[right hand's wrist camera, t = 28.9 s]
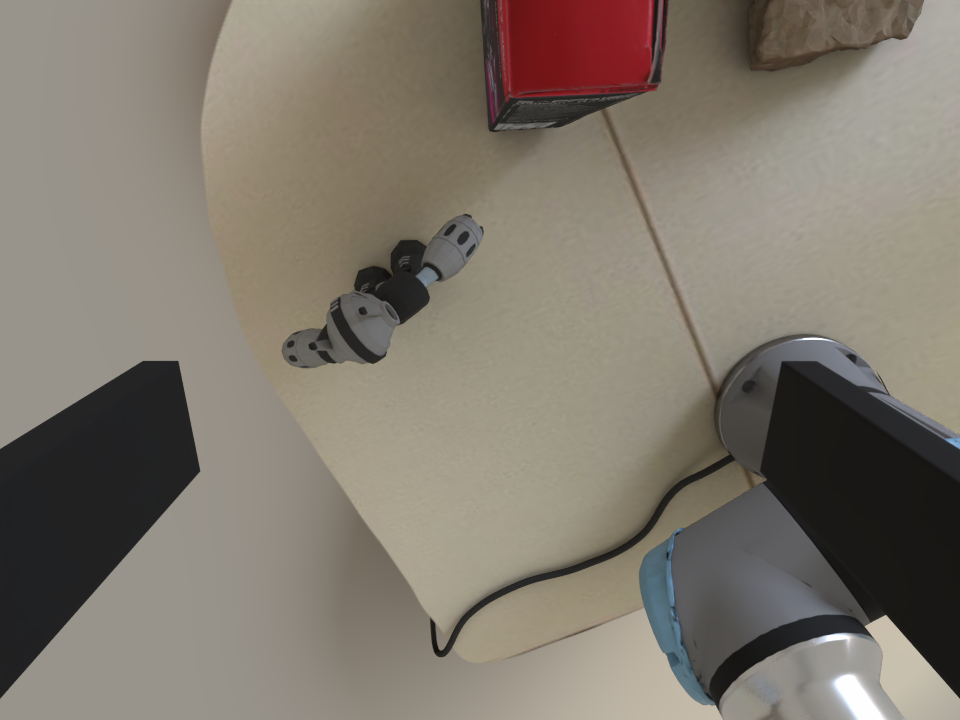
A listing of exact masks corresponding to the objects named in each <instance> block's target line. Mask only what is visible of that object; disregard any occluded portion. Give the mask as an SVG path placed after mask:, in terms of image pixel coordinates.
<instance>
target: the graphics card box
mask: <svg viewBox="0 0 960 720" xmlns="http://www.w3.org/2000/svg"><path fill="white" fill-rule="evenodd" d="M668 1H669V0H481V18H482V33H483V48H484V66H485V84H486V98H487V111H488V129H489V131H492V132H497V131H505V130H523V129H536V128H552V127H554V128H555V127H561V126H564V125H566V124H569V123H572V122H574V121H576V120H578V119H580V118H582V117H584V116H586V115H588V114H591V113H593V112H596V111H599V110H601V109H604V108H605V107H609V106H611V105H614V104H616V103H619V102H621V101H624V100H627V99H629V98H632V97H634V96H636V95H639V94H642V93H645V92H648V91H654V90H657V87H658V84H659V83H661V80H662V66H663V58H664V51H665V44H666V30H667V16H668Z"/></svg>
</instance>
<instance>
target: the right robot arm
mask: <svg viewBox="0 0 960 720" xmlns="http://www.w3.org/2000/svg"><path fill="white" fill-rule="evenodd" d="M876 372H877V371H876ZM877 374H878V373H877ZM878 376H879V374H878ZM879 377H880V376H879ZM880 379H881V377H880ZM881 381H882V379H881ZM882 383H883V381H882ZM883 385H884V383H883ZM883 385H882V384H881V382H880V381H879V379H878V378H877V376H876V375H875V373H874V372H873V370H872V369H871V367H870V366H869V365H868V363H867V362H866V361H865V360H864V359H863V358H862V357H860V356H859V355H858V354H857V353H856V352H855V351H853V350H852V349H850V348H849V347H847V346H845V345H843V344H841V343H839V342H837V341H835V340H833V339H830V338H827V337H823V336H818V335H809V334H802V335H792V336H787V337H782V338H779V339H776V340H773V341H771V342H768V343H766V344H764V345H762V346H760V347H758V348H757V349H755V350H754V351H752V352H751V353H749V354H748V355H747V356H745V357H744V358H743V359H742V360H741V361H740V362H739V363H738V364H737V365H736V366H735V367H734V368H733V369H732V371H731V372H730V373H729V375H728V376H727V378H726V379H725V381H724V383H723V384H722V386H721V389H720V391H719V394H718V397H717V400H716V405H715V426H716V431H717V434H718V436H719V439H720V441H721V443H722V444H723V446H724V447H725V448H726V450H727V451H728V452H729V453H730V455H728V456H727V457H725V458H723V459H721V460H720V461H718V462H716V463H714V464H713V465H711V466H709V467H707V468H705V469H704V470H702V471H700V472H697V473H695V474H693V475H691V476H689V477H687V478H685V479H683V480H681V481H680V482H679V483H677V484H676V485H675V486H674V487H673V488H672V489H671V490H670V491H669V492H668V493H667V494H666V496H665V497H664V498H663V500H662V501H661V503H660V504H659V506H658V508H657V509H656V511H655V513H654V515H653V516H652V518H651V519H650V521H649V522H648V524H647V525H646V526H645V528H644V529H643V530H642V531H641V532H640V533H638V534H637V535H636V536H635V537H634V538H632V539H631V540H629V541H628V542H627V543H625V544H623V545H622V546H620V547H618V548H616V549H614V550H612V551H610V552H608V553H605V554H603V555H601V556H598V557H595V558H593V559H590V560H587V561H585V562H582V563H580V564H577V565H574V566H571V567H568V568H565V569H561V570H557V571H553V572H548V573H544V574H540V575H536V576H532V577H529V578H526V579H523V580H521V581H518V582H516V583H514V584H511V585H509V586H507V587H505V588H503V589H501V590H499V591H497V592H495V593H493V594H491V595H490V596H488V597H486V598H485V599H483V600H482V601H480V602H479V603H478V604H476V605H475V606H474V607H473V608H471V609H470V610H469V611H468V612H467V613H466V614H465V615H464V616H463V617H462V618H461V619H460V621H459V622H458V624H457V625H456V627H455V629H454V631H453V633H452V635H451V637H450V639H449V641H448V643H447V645H446V647H445V648H444V649H443V650H442V651H440V650H439V648H438V644H437V637H436V625H435V622H434V621H433V619H432V618H431V617H430V628H431V641H432V647H433V651H434V653H435V654H436V655H437V656H438V657H444V656H446V655H447V654H448V653H449V651H450V650H451V648H452V647H453V645H454V643H455V640H456V638H457V636H458V634H459V632H460V631H461V629H462V627H463V626H464V624H465V623H466V621H467V620H468V619H469V618H470V617H471V616H472V615H474V614H475V613H476V612H477V611H478V610H480V609H481V608H482V607H484V606H485V605H487V604H488V603H490V602H492V601H493V600H495V599H497V598H499V597H501V596H503V595H505V594H507V593H509V592H512V591H514V590H516V589H518V588H521V587H523V586H526V585H529V584H532V583H535V582H539V581H543V580H547V579H552V578H556V577H560V576H564V575H568V574H571V573H574V572H577V571H580V570H582V569H585V568H588V567H590V566H593V565H596V564H598V563H601V562H603V561H606V560H608V559H611V558H613V557H615V556H617V555H619V554H621V553H623V552H625V551H626V550H628V549H630V548H631V547H633V546H634V545H635V544H637V543H638V542H639V541H641V540H642V539H643V538H644V537H645V536H646V535H647V534H648V533H649V532H650V531H651V529H652V528H653V527H654V525H655V524H656V522H657V521H658V519H659V518H660V516H661V514H662V512H663V511H664V509H665V507H666V506H667V504H668V503H669V501H670V500H671V499H672V498H673V497H674V496H675V494H676V493H678V492H679V491H680V490H681V489H682V488H684V487H685V486H687V485H688V484H690V483H692V482H694V481H697V480H699V479H701V478H703V477H705V476H707V475H709V474H711V473H713V472H715V471H716V470H718V469H720V468H722V467H724V466H725V465H727V464H729V463H731V462H732V461H734V460H736V461H737V462H738V463H739V464H741V465H742V466H743V467H745V468H746V469H747V470H749V471H751V472H752V473H754V474H756V475H759V476H761V477H763V478H766V479H767V480H766V481H764V482H762V483H760V484H758V485H757V486H755V487H753V488H752V489H750V490H748V491H747V492H745V493H743V494H742V495H740V496H738V497H737V498H735V499H733V500H732V501H730V502H728V503H727V504H725V505H723V506H722V507H720V508H718V509H717V510H715V511H713V512H712V513H710V514H708V515H707V516H705V517H703V518H702V519H700V520H698V521H697V522H695V523H693V524H692V525H690V526H688V527H687V528H685V529H684V528H680V529H678V530H676V531H675V532H674V533H673V534H672V535H671V537H670V538H669V539H667V540H666V541H664V542H663V543H661V544H659V545H658V546H656V547H655V548H653V549H652V550H651V551H649V552H648V553H647V554H646V555H645V557H644V558H643V561H642V565H641V566H640V571H639V583H640V590H641V595H642V600H643V603H644V607H645V610H646V613H647V616H648V619H649V622H650V625H651V627H652V630H653V633H654V635H655V637H656V640H657V642H658V644H659V646H660V648H661V650H662V652H663V653H665V654H666V655H667V658H668V661H669V664H670V667H671V669H672V671H673V673H674V675H675V676H676V678H677V679H678V681H679V683H680V684H681V685H682V687H683V688H684V689H685V691H686V692H687V693H688V694H689V695H690V696H691V697H692V698H693V699H694V700H695V701H697V702H699V703H700V704H702V705H716V706H717V708H718V710H719V712H720V714H721V716H722V718H723V720H906V719H905V718H904V717H903V715H902V714H901V713H900V711H899V710H898V709H897V707H896V706H895V705H894V703H893V702H892V701H891V699H890V698H889V697H888V695H887V694H886V693H885V691H884V690H883V689H882V687H881V684H880V674H881V666H882V658H883V654H882V650H881V647H880V646H879V644H878V643H877V642H876V641H875V639H874V638H873V637H872V635H871V634H870V633H869V632H868V630H867V629H866V628H865V627H864V626H866V625H868V624H869V623H871V622H873V621H875V620H877V619H879V618H881V617H882V616H884V615H887V616H888V617H889V619H890V620H891V621H892V622H893V623H894V624H895V625H896V627H897V628H898V629H899V630H900V631H901V632H902V633H903V635H904V636H905V637H906V638H907V639H908V640H909V641H910V642H911V644H912V645H913V646H914V647H915V648H916V649H917V650H918V652H919V653H920V654H921V655H922V656H923V657H924V658H925V660H926V661H927V662H928V663H929V664H930V665H931V666H932V667H933V669H934V670H935V671H936V672H937V673H938V674H939V675H940V677H941V678H942V679H943V680H944V681H945V682H946V683H947V685H948V686H949V687H950V688H951V689H952V690H953V691H954V692H955V694H956V695H957V696H958V697H959V698H960V435H958V434H956V433H955V432H953V431H951V430H949V429H948V428H946V427H944V426H942V425H941V424H939V423H937V422H935V421H934V420H932V419H930V418H928V417H927V416H925V415H923V414H922V413H920V412H918V411H916V410H915V409H913V408H911V407H909V406H908V405H906V404H904V403H902V402H901V401H899V400H897V399H895V398H894V397H892V396H890V395H889V393H888V391H887V389H886V387H885V385H884V387H885V388H884V387H883ZM885 389H886V390H885ZM199 472H200V467H199V462H198V457H197V452H196V447H195V442H194V437H193V432H192V427H191V422H190V417H189V412H188V407H187V402H186V397H185V392H184V387H183V382H182V377H181V372H180V367H179V362H178V361H142V362H141V363H139V364H137V365H136V366H134V367H133V368H131V369H129V370H128V371H126V372H125V373H123V374H121V375H120V376H118V377H116V378H115V379H113V380H111V381H110V382H108V383H107V384H105V385H103V386H102V387H100V388H99V389H97V390H95V391H94V392H92V393H90V394H89V395H87V396H86V397H84V398H82V399H81V400H79V401H77V402H76V403H74V404H73V405H71V406H69V407H68V408H66V409H64V410H63V411H61V412H60V413H58V414H56V415H55V416H53V417H51V418H50V419H48V420H47V421H45V422H43V423H42V424H40V425H38V426H37V427H35V428H34V429H32V430H30V431H29V432H27V433H26V434H24V435H22V436H21V437H19V438H17V439H16V440H14V441H13V442H11V443H9V444H8V445H6V446H4V447H3V448H1V449H0V698H1V697H2V696H3V695H4V694H5V692H6V691H7V690H8V689H9V688H10V687H11V686H12V685H13V683H14V682H15V681H16V680H17V679H18V678H19V676H20V675H21V674H22V673H23V672H24V671H25V670H26V669H27V667H28V666H29V665H30V664H31V663H32V662H33V661H34V659H35V658H36V657H37V656H38V655H39V654H40V653H41V652H42V650H43V649H44V648H45V647H46V646H47V645H48V644H49V642H50V641H51V640H52V639H53V638H54V637H55V636H56V635H57V633H58V632H59V631H60V630H61V629H62V628H63V627H64V625H65V624H66V623H67V622H68V621H69V620H70V619H71V617H72V616H73V615H74V614H75V613H76V612H77V611H78V610H79V608H80V607H81V606H82V605H83V604H84V603H85V602H86V600H87V599H88V598H89V597H90V596H91V595H92V594H93V592H94V591H95V590H96V589H97V588H98V587H99V586H100V585H101V583H102V582H103V581H104V580H105V579H106V578H107V577H108V575H109V574H110V573H111V572H112V571H113V570H114V569H115V567H116V566H117V565H118V564H119V563H120V562H121V561H122V559H123V558H124V557H125V556H126V555H127V554H128V553H129V552H130V550H131V549H132V548H133V547H134V546H135V545H136V544H137V542H138V541H139V540H140V539H141V538H142V537H143V536H144V535H145V533H146V532H147V531H148V530H149V529H150V528H151V527H152V525H153V524H154V523H155V522H156V521H157V520H158V519H159V517H160V516H161V515H162V514H163V513H164V512H165V511H166V510H167V508H168V507H169V506H170V505H171V504H172V503H173V502H174V500H175V499H176V498H177V497H178V496H179V495H180V494H181V492H182V491H183V490H184V489H185V488H186V487H187V486H188V485H189V483H190V482H191V481H192V480H193V479H194V478H195V477H196V475H197V474H198V473H199Z"/></svg>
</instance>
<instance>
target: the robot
mask: <svg viewBox="0 0 960 720" xmlns="http://www.w3.org/2000/svg"><path fill="white" fill-rule="evenodd" d="M471 218H472V217H471V215H468V214H464V215H460V216H457V217H455V218H453V219H452V220H450V221H448V222H447V223H446V224H445V225H444V226H443V227H442V228H441V230H440V231H439V232H438V233H437V234H436V235H435V236H434V237H433V238H432V240H431V241H430V243H429V244H428V246H427V247H426V246H424V245H423V244H422V243H420V242H419V241H417V240H401V241H400V242H399V243H398V245H397V246H396V248H395V249H394V250H393V252H392V253H391V270H392V272H393V274H394V276H391V274H390V273H389V272H388V271H387V270H386V269H383V268H379V267H375V266H372V267H369V268H366V269H363V270H360V271H359V272H358V275H357V278H356V281H355V284H354V287H355V290H353V291H352V292H350V293H349V294H344V295H342V296H340V297H338V298H336V299H335V300H334V301H332V302H331V305H330V309H329V311H328V313H327V319H326V321H327V324H326V325H325V327H324V328H323V329H322V330H321V329H313V328H311V329H306V330H302V331H298V332H295V333H293V334H291V335H290V336H289V338H288V339H287V340H286V341H285V342H284V343H283V347H282V354H283V357H284V359H285V360H286V361H287V362H288V363H289V364H290V365H292V366H295V367H300V368H315V367H318V366H321V365H325V364H327V363H334V364H335V363H343V362H344V361H346V360H348V361H354V362H357V363H360V364H364V363H372V364H374V363H376V362H378V361H380V360H381V359H383V358H384V357H385V356H386V353H387V349H388V348H389V346H390V339H391V336H392V333H393V330H394V327H395V326H397V325H401V324H403V323H405V322H406V321H407V320H408V319H409V318H411V317H412V316H413V315H415V314H416V313H417V312H419V311H420V310H421V309H422V308H423V307H425V306H426V305H427V304H428V302H429V299H430V297H429V294H428V291H427V289H426V287H428V286H429V285H430V284H432V283H433V282H434V281H439V282H441V281H445V280H446V279H448V278H450V277H452V276H454V275H455V274H457V273H458V272H459V271H460V270H461V269H462V268H463V267H464V266H465V264H466V263H467V262H468V260H469V259H470V258H471V256H472V255H473V254H474V253H475V251H476V250H477V248H478V246H479V244H480V242H481V240H482V238H483V233H484V231H483V227H481V226H480V227H479V225H478V224H477V223H476V222H475V221H474V220H472V219H471Z"/></svg>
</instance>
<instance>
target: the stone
mask: <svg viewBox="0 0 960 720" xmlns="http://www.w3.org/2000/svg"><path fill="white" fill-rule="evenodd" d="M923 2H924V0H755V2H754V4H753V5H752V7H751V8H750V10H749V17H748V22H749V25H750V28H751V29H750V32H749V41H750V58H751V65H750V68H751V70H752V71H753V70H767V71H775V70H780V69H784V68H787V67H792V66H799V65H804V64H806V63H810V62H811V61H813V60H815V59H816V58H818V57H819V56H822V55H825V54H827V53H829V52H833V51H837V50H850V49H853V50H858V49H866V48H867V47H868V46H869V45H872V44H876V43H878V42H880V41H882V40H887V39H890V38H892V37H893V38H896V39H899V40H902V39H905V38H907V37H908V36H909V34H910V32H911V30H912V28H913V26H914V23H915V21H916V20H917V18H918V17H919V15H920V14H921V9H922V5H923Z"/></svg>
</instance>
